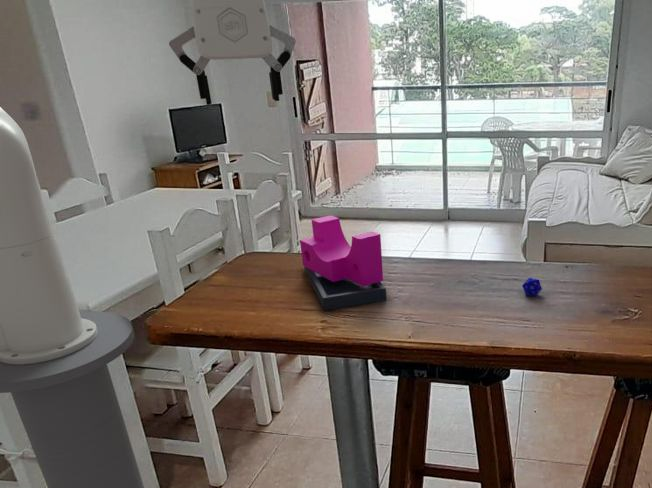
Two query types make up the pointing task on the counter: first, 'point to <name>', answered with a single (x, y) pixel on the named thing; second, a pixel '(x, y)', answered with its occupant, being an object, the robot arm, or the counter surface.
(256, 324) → the counter surface
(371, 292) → the rectangular tray
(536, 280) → the die
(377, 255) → the toy block
